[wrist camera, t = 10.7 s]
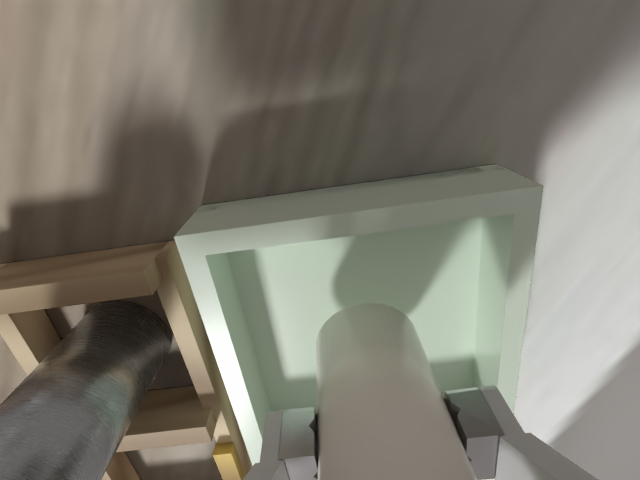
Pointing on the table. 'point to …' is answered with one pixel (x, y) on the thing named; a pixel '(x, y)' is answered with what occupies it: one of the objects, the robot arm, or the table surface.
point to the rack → (185, 320)
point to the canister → (82, 396)
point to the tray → (364, 279)
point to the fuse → (381, 402)
